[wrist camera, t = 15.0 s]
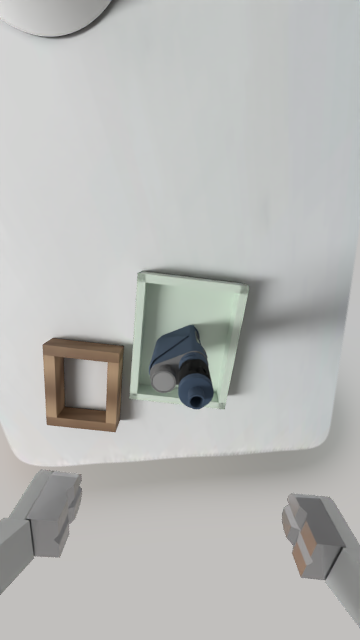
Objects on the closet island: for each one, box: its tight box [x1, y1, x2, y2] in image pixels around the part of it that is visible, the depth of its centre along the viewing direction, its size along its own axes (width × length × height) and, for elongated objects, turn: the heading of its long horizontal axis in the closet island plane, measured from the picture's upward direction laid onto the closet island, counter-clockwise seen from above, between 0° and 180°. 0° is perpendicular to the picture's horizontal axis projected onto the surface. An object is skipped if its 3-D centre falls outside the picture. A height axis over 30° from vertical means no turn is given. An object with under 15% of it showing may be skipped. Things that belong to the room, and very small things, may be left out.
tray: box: [129, 271, 249, 409], centre depth 25 cm, size 14×11×2 cm
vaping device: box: [149, 325, 214, 409], centre depth 20 cm, size 3×5×12 cm, turn 112°
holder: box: [43, 338, 124, 432], centre depth 27 cm, size 10×8×2 cm
